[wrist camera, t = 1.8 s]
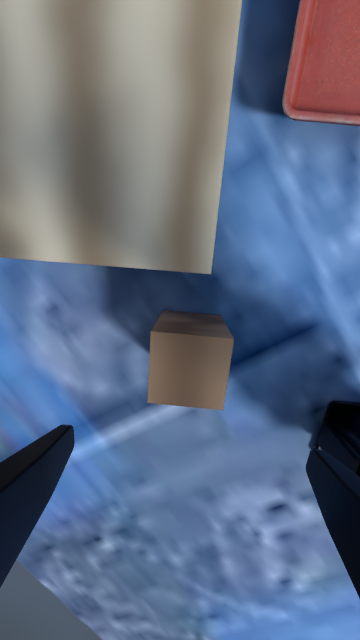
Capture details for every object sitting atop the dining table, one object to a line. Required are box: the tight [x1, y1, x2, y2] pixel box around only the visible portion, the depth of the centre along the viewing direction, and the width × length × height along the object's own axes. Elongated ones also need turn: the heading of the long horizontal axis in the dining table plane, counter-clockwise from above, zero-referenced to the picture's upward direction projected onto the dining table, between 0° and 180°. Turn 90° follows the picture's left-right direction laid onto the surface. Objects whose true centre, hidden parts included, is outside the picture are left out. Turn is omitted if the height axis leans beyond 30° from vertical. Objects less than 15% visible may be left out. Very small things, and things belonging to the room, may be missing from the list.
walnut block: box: [148, 310, 234, 410], centre depth 16 cm, size 5×5×6 cm
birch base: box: [0, 0, 242, 274], centre depth 14 cm, size 16×16×3 cm
